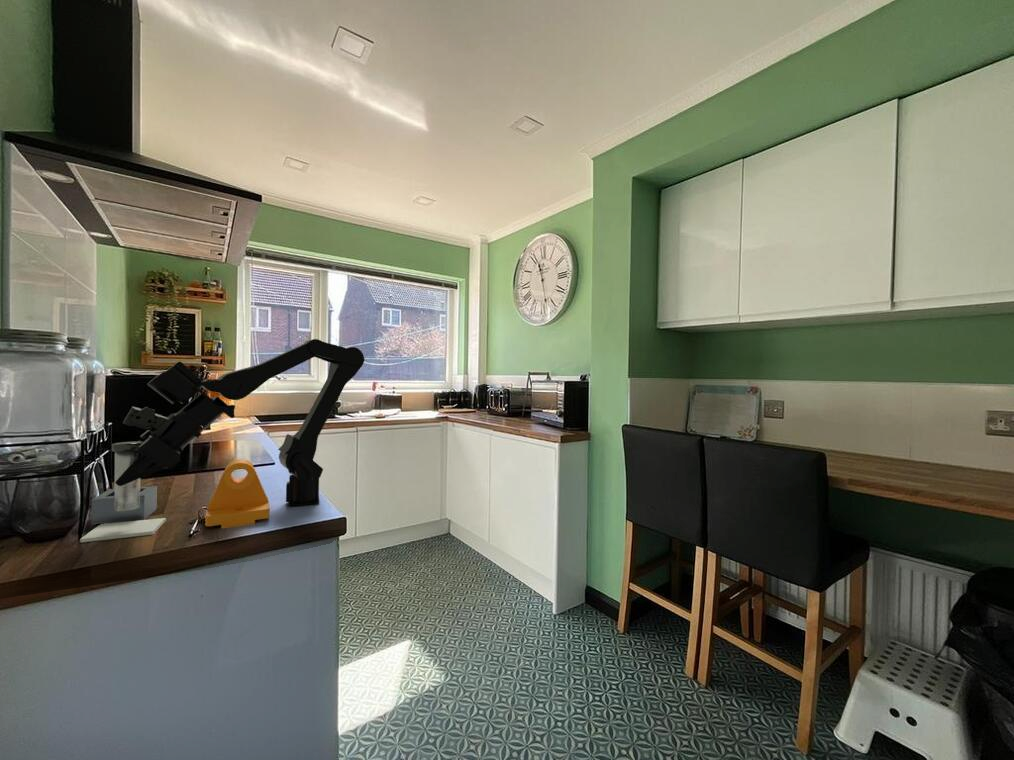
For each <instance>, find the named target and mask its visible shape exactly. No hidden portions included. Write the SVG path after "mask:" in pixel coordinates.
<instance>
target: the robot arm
mask: <svg viewBox="0 0 1014 760" xmlns="http://www.w3.org/2000/svg"><path fill="white" fill-rule="evenodd" d="M313 358H317V359H320V360H321V361H323V362H328V363H329V366H328V374H327V378H326V381H325V382H324V383H323V385H322V387H321V389H320V391H319V393H318V395H317V397H316V399H315V400H314V402H313V405H311V408H310V410H309V412H308V413H307V416H306V417H305V418H304V420H303V423H302V424H301V427H300V428H299V430H298V431H296V433H295V434H293V435H291V434H289V433H287V434H286V435H285V438H284V441H283V443H282V445H281V446H280V447H278V451H280V452H279V455H278V459H279V463H280V464H281V465H282V467H284V468H286V469H287V471H288V473H289V474H290V475H289V478H288V479H289V481H287V482H286V488H285V489H286V491H285V502H286V503H287V506H288V507H296V506H306V505H307V506H309V505H315V504H317V505H318V504H320V478H321V476H322V474H323V471H324V469H323V467H322V466H321V465H319V464H318V463H317V462H316V461H314V458H315V456H316V452H317V446H318V438H319V436H320V434H321V432H322V431H323V428H324V426H325V424H326V423H327V421H328V418H329V417H330V415H331V412H332V411H333V409H334V407H335V405H336V403H337V401H338V399H339V398H340V396H341V394H342V393H343V392H342V391H343V390H344V387H345V386H346V385H347V383H348V382H350V381H351V380H352V379H353V378H354V377H355V376H356V375H357V373H358V372H359V370H361V368H362V367H363V365H364V363H365V357H364V354H363V352H362V350H360V349H359V348H358V347H355V346H348V347H344V346H341V345H338V344H337V345H336V344H332V343H328V342H326V341H322V340H320V339H318V338H313V339H307V340H306V341H305V342H304V343H302V344H300V345H298V346H295V347H294V348H290V349H289V350H287V351H285V352H281V354H278V355H276V356H274V357H271V358H269V359H267V360H265V361H263V362H261V363H258V364H256V365H252V366H248V367H244V368H241V369H237V370H234V371H230V372H226V373H224V374H222V375H220V376H218V378H214V379H209V378H205V379H204V380H202V379H201V378H199V376H197V375H196V374H194V372H192V371H191V370H190V369H189V368H188V367H187V365H185V364H184V363H183V362H182V361H177V362H175V363H174V365H172V366H171V367H169V368H168V369H167V370H165V371H162V372H161V373H159V374H158V375H156V376H155V377H154V378H153V379H151V380H150V381H149V382H147V383H146V385H147V386H148V387H150V388H151V389H152V390H153V391H155V392H156V393H158V394H159V395H160V396H161V397H163V398H164V399H166V400H167V401H168V402H170V404H172V405H174V404H175V403H177V402H179V403H180V404H181V405H184V403H186V402H188V401H189V400H190V399H191V398H193V397H194V396H195V395H196V394H197V393H199V395H197V396H196V397H195V398H194V399H192V400H191V401H190V402H189V403H188V404H186V405H185V406H184V407H182V408H181V409H179V411H177V412H176V413H171V414H170V415H168V416H163V415H162V414H158V413H156V409H153V408H149V407H147V406H144V408H140V407H136V406H131V408H130V410H129V412H128V413H127V415H126V416H125V418H124V420H123V421H122V424H124V425H126V426H130V427H137V428H140V429H144V430H146V431H145V432H143V433H142V434H141V435H140V439H142V440H144V441H142V440H140V439H138V441H137V442H143V443H142V444H141V445H140V446H139V445H138V446H137V458H136V459H135V460H134V461H133V462H132V463H131V465H130V466H129V467H128V468H127V469H126V470H125V471H124V472H123V474H122V475H121V476H120V477H119V478H118V479H117V481H116V482H115V481H114V484H115V483H116V484H117V485H119V486H122V485H125V484H127V483H130V482H132V481H134V480H137V479H139V478H140V479H142V478H144V477H147V476H149V475H151V474H154V473H156V472H159V471H162V470H164V469H166V470H167V469H170V470H172V469H174V468H175V467H176V466H177V465H178V464H179V463H180V462H181V453H182V452H183V451H184V448H185V447H186V446H187V445H188V444H190V442H192V441H193V440H194V439H196V438H197V439H198V438H199V437H200V436H201V435H202V433H203V432H204V431H205V429H207V428H208V427H209V426H211V425H212V424H213V423H215V421H216V420H217V419H219V418H220V417H221V416H222V415H224V414H225V415H226V416H227V417H229V419H234V418H235V416H236V415H235V409H236V405H235V404H228V403H226V402H225V401H224V400H223V399H221V398H220V397H219V396H218V395H220V396H221V397H223V398H224V399H227V400H231V401H239V400H243V399H244V398H246V397H247V396H249V395H251V393H253V392H254V391H255V390H257V389H259V388H260V387H261V386H262V385H264V383H266V382H267V381H269V380H270V379H272V378H274V377H276V376H279V375H280V374H283V373H285V372H286V371H288V370H291V369H292V368H295V367H297V366H298V365H301V364H303V363H305V362H307V361H309V360H311V359H313ZM200 387H201V388H203V389H204V390H206V391H209V392H213V393H217V394H218V395H216V396H214V397H212V398H211V397H210V396H209V395H207V394H206V393H205V392H204V391H203V390H201V389H200Z"/></svg>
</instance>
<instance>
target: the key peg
mask: <svg viewBox="0 0 1014 760" xmlns="http://www.w3.org/2000/svg"><path fill="white" fill-rule="evenodd" d="M143 442H144V441H141V442H138V441H122V442H116V443H112V444H111V451H112V452H114V487H113V489H114V511H128V510H133V509H137V508H139V507H140V487H141V478H139V479H137V480H134V481H132V482H130V483H127V484H125V485H122V486H119V485H117V484H116V483H115V482H116V481H117V479H118V478H119V477H120V476H121V475H122V474H123V472H124V471H125V470H126V469H127V468H128V467H129V466H130V465H131V463H132V462H133V461H134V460H135V459H136V458H137V446H138V445H139V446H140V445H141V444H142V443H143Z"/></svg>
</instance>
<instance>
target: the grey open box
mask: <svg viewBox="0 0 1014 760" xmlns="http://www.w3.org/2000/svg"><path fill="white" fill-rule="evenodd" d="M157 502H158V485H151V486H140V507H139V508H137V509H133V510H128V511H114V488H109V489H107V490H105V491H104V492H102V493H100V494H98V495H97V496H95V497H93V498H92V499H91V515H90V516H91V517H90V518H91V519H90V522H91V523H90V524H91V525H90V526H96V524H104V523H118V522H128V521H139V520H147V518H149V517H150V516H151V515H152V514H153V513H154V512H155V511H156V510H157V509H158V507H157V506H158V503H157Z"/></svg>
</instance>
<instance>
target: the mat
mask: <svg viewBox="0 0 1014 760" xmlns="http://www.w3.org/2000/svg"><path fill="white" fill-rule="evenodd" d="M166 521H167V518H166V517H161V518H159V517H158V518H150V519H145V520H139V521H128V522H118V523H108V524H100V525H97V526H96V527H94V528H93V529H92V530H91V531H89V532H87V534H85V535H84V536H83V537H81V538H80V539H79V543H87V542H98V541H106V540H115V539H116V540H117V539H123V538H125V539H126V538H133V537H141V536H142V537H143V536H151V535H154V534H155V533H156V532H157V531H158V530H159V528H161V527H162V526H163V525H164V524H165V522H166Z"/></svg>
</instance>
